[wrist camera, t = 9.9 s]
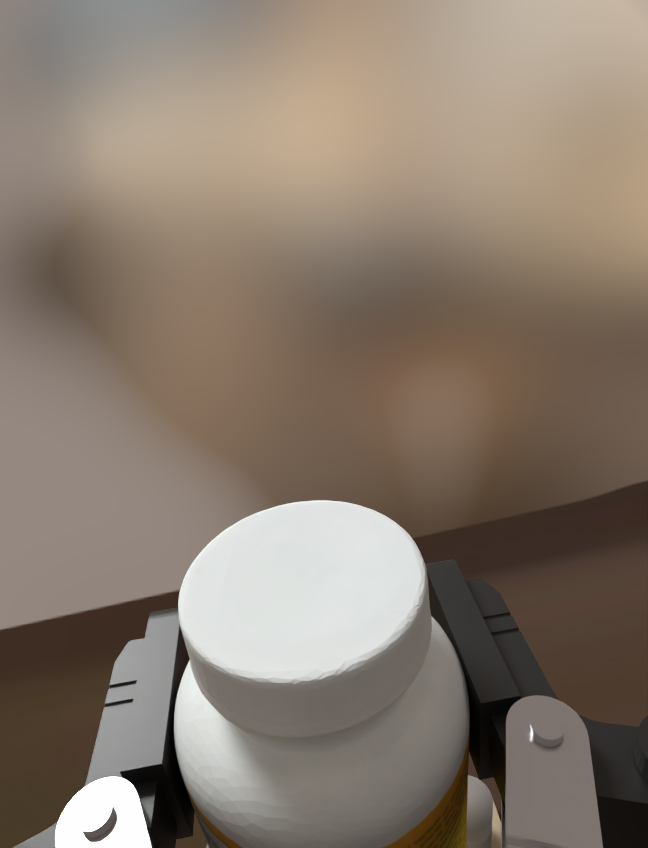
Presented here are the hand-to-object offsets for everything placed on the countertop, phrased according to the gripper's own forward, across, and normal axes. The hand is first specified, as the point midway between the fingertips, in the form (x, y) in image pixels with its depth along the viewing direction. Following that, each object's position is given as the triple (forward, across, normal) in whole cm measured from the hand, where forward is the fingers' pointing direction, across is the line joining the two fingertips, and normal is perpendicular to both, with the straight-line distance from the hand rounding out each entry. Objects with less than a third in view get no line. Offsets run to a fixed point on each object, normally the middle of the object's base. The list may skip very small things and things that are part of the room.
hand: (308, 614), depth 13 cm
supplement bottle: (-3, 0, +6) cm, 7 cm away
